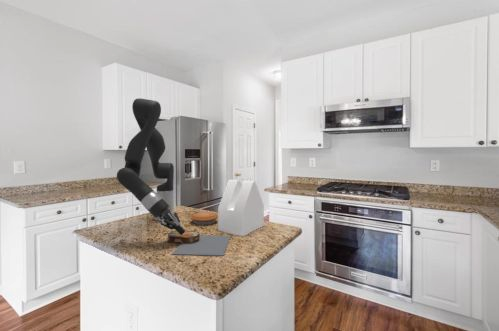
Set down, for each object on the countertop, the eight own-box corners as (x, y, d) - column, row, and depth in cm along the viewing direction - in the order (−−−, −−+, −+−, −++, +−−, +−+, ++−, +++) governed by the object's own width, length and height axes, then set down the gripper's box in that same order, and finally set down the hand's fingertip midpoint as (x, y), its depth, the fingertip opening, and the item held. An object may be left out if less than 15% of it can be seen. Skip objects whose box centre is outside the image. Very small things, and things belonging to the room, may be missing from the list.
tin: (163, 235, 108) (175, 228, 115) (164, 242, 108) (176, 234, 116) (192, 238, 102) (203, 230, 110) (192, 245, 102) (203, 237, 110)
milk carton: (243, 236, 115) (243, 183, 113) (218, 230, 123) (218, 181, 122) (263, 226, 131) (263, 180, 129) (240, 221, 139) (240, 178, 138)
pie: (189, 219, 143) (189, 211, 143) (216, 218, 147) (216, 209, 147) (190, 227, 128) (190, 218, 128) (219, 225, 132) (219, 216, 132)
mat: (171, 254, 93) (171, 253, 93) (188, 235, 115) (188, 234, 115) (223, 256, 92) (223, 255, 92) (230, 236, 114) (230, 235, 114)
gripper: (154, 201, 97) (184, 232, 97) (167, 195, 110) (193, 222, 110) (141, 214, 97) (171, 244, 97) (155, 206, 111) (182, 234, 111)
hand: (183, 233), depth 104 cm, fingers closed
